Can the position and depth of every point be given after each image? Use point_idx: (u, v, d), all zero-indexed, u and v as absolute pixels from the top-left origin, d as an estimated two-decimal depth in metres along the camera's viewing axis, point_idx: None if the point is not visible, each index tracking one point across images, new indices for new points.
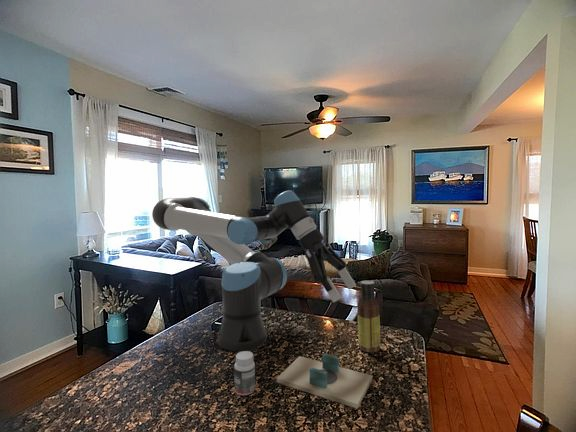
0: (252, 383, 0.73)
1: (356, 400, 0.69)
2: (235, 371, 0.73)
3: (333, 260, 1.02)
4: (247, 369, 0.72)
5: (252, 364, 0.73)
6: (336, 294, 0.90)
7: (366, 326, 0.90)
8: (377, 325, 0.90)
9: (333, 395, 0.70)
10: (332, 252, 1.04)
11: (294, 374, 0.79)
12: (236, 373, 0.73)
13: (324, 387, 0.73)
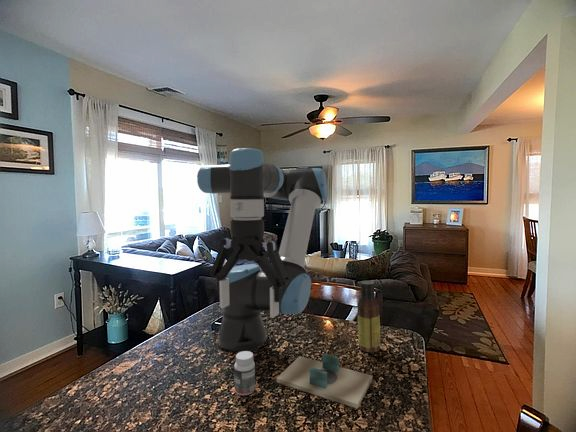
0: (252, 383, 0.73)
1: (356, 400, 0.69)
2: (235, 371, 0.73)
3: None
4: (247, 369, 0.72)
5: (252, 364, 0.73)
6: None
7: (366, 326, 0.90)
8: (377, 325, 0.90)
9: (333, 395, 0.70)
10: None
11: (294, 374, 0.79)
12: (236, 373, 0.73)
13: (324, 387, 0.73)
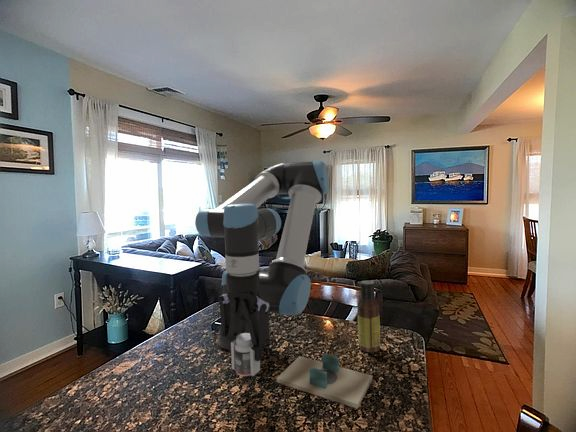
0: None
1: (356, 400, 0.69)
2: (236, 352, 0.73)
3: None
4: (247, 350, 0.72)
5: None
6: None
7: (366, 326, 0.90)
8: (377, 325, 0.90)
9: (333, 395, 0.70)
10: (259, 318, 0.70)
11: (294, 374, 0.79)
12: (237, 354, 0.73)
13: (324, 387, 0.73)
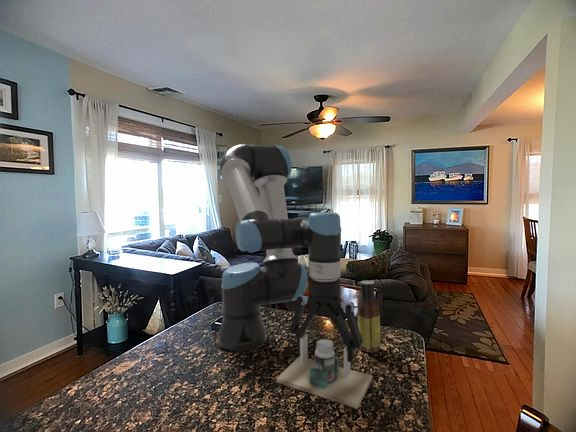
0: (333, 370, 0.76)
1: (356, 400, 0.69)
2: (317, 358, 0.76)
3: None
4: (329, 356, 0.75)
5: (333, 351, 0.76)
6: None
7: (366, 326, 0.90)
8: (377, 325, 0.90)
9: (333, 395, 0.70)
10: None
11: (294, 374, 0.79)
12: (318, 360, 0.75)
13: (324, 387, 0.73)
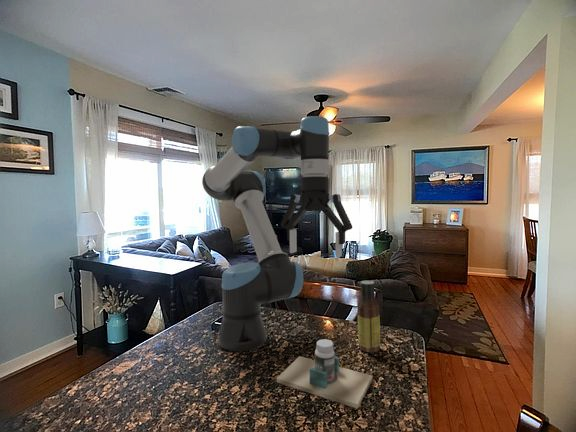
0: (333, 370, 0.76)
1: (356, 400, 0.69)
2: (317, 358, 0.76)
3: None
4: (329, 356, 0.75)
5: (333, 351, 0.76)
6: None
7: (366, 326, 0.90)
8: (377, 325, 0.90)
9: (333, 395, 0.70)
10: (336, 208, 0.83)
11: (294, 374, 0.79)
12: (318, 360, 0.75)
13: (324, 387, 0.73)
